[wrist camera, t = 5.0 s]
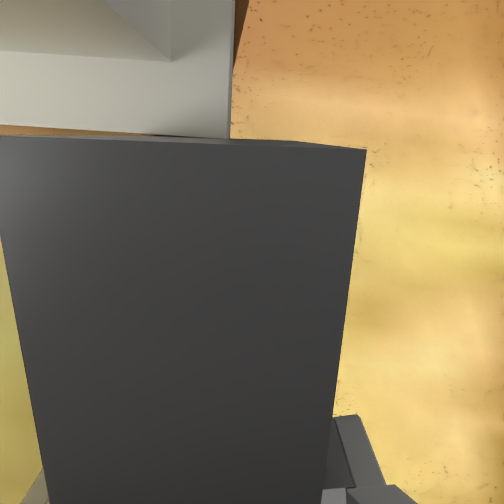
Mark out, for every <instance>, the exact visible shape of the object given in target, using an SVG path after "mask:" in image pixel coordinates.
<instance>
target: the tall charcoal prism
mask: <svg viewBox="0 0 504 504" xmlns="http://www.w3.org/2000/svg"><path fill="white" fill-rule="evenodd" d="M366 152H367V150H366V149H357V148H349V147H341V146H332V145H324V144H316V143H307V142H299V141H281V140H255V139H221V138H203V137H177V136H142V135H0V236H1V242H2V247H3V253H4V258H5V263H6V269H7V274H8V280H9V285H10V291H11V296H12V301H13V307H14V312H15V318H16V323H17V329H18V334H19V340H20V345H21V350H22V356H23V361H24V367H25V372H26V378H27V383H28V388H29V394H30V399H31V405H32V410H33V416H34V421H35V426H36V432H37V437H38V443H39V448H40V454H41V459H42V465H43V470H44V475H45V481H46V486H47V492H48V497H49V503H50V504H321V500H322V492H323V484H324V476H325V469H326V461H327V453H328V446H329V438H330V430H331V422H332V415H333V407H334V399H335V392H336V384H337V376H338V368H339V361H340V353H341V345H342V338H343V330H344V322H345V314H346V307H347V299H348V291H349V284H350V276H351V268H352V260H353V253H354V245H355V237H356V230H357V222H358V214H359V206H360V199H361V191H362V183H363V176H364V168H365V160H366Z"/></svg>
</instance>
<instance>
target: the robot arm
mask: <svg viewBox="0 0 504 504" xmlns="http://www.w3.org/2000/svg"><path fill="white" fill-rule="evenodd" d="M21 504H50V503H49V497H48V492H47V486H46V481H45V475H44V470H43V469H42V471H41V472H40V474H39V475H38V477H37V478H36V480H35V482H34V483H33V485H32V486H31V488H30V489H29V491H28V493H27V494H26V496H25V497H24V499H23V500H22V502H21ZM321 504H417V503H416V502H415V501H414V500H413V499H411V498H410V497H409V496H408V495H407V494H405V493H404V492H403V491H402V490H401V489H399V488H398V487H397V486H396V485H395V484H394V485H386V483H385V480H384V477H383V475H382V472H381V470H380V467H379V464H378V462H377V459H376V457H375V454H374V452H373V449H372V446H371V444H370V441H369V439H368V436H367V434H366V431H365V428H364V426H363V423H362V421H361V418H360V417H359V416H358V415H357V414H355V415H347V416H339V417H334V418H332V422H331V430H330V438H329V446H328V453H327V461H326V469H325V476H324V484H323V492H322V500H321Z"/></svg>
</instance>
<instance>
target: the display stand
mask: <svg viewBox="0 0 504 504" xmlns="http://www.w3.org/2000/svg"><path fill="white" fill-rule="evenodd" d="M234 22H235V0H0V124H1V125H16V126H32V127H48V128H64V129H79V130H95V131H111V132H126V133H142V134H158V135H174V136H189V137H205V138H221V139H230V122H231V97H232V72H233V47H234Z"/></svg>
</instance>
